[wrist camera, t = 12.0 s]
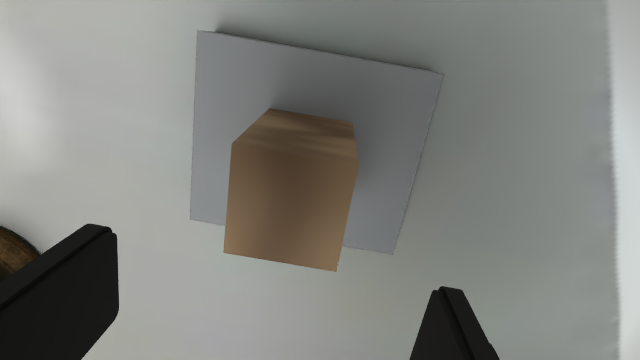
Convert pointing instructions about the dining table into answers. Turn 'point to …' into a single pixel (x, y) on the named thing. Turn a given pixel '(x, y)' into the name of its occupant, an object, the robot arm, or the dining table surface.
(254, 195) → the walnut block
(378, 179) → the slate platform
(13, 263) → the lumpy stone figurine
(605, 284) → the dining table surface
